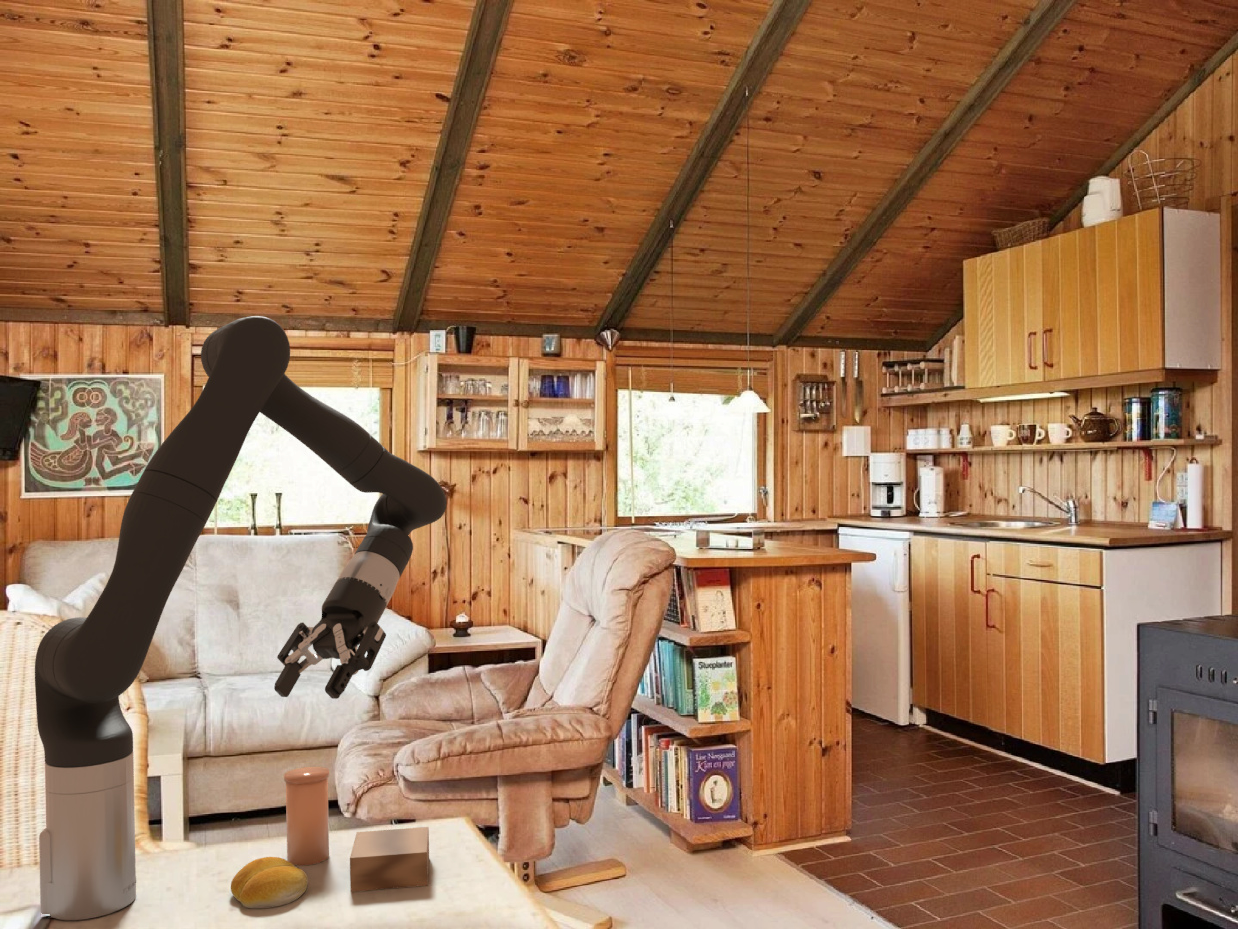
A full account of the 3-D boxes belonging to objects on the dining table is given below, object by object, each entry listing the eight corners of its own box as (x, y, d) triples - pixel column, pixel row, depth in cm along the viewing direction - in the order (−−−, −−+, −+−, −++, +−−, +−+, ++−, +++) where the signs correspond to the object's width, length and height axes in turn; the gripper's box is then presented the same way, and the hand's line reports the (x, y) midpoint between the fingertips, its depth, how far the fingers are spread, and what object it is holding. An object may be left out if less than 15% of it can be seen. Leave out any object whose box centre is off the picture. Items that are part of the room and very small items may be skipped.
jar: (282, 867, 132) (280, 780, 132) (289, 851, 137) (287, 768, 137) (328, 864, 133) (326, 777, 133) (333, 848, 138) (331, 765, 138)
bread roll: (251, 918, 118) (251, 882, 118) (222, 894, 124) (222, 861, 124) (321, 897, 123) (320, 863, 123) (289, 875, 130) (288, 843, 130)
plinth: (350, 892, 124) (349, 858, 124) (357, 863, 133) (356, 832, 133) (427, 885, 125) (426, 852, 125) (429, 858, 134) (428, 827, 134)
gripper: (307, 577, 142) (246, 676, 132) (388, 573, 136) (331, 677, 125) (336, 611, 147) (280, 710, 136) (417, 609, 140) (364, 713, 130)
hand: (305, 694), depth 131 cm, fingers open, 8 cm apart
